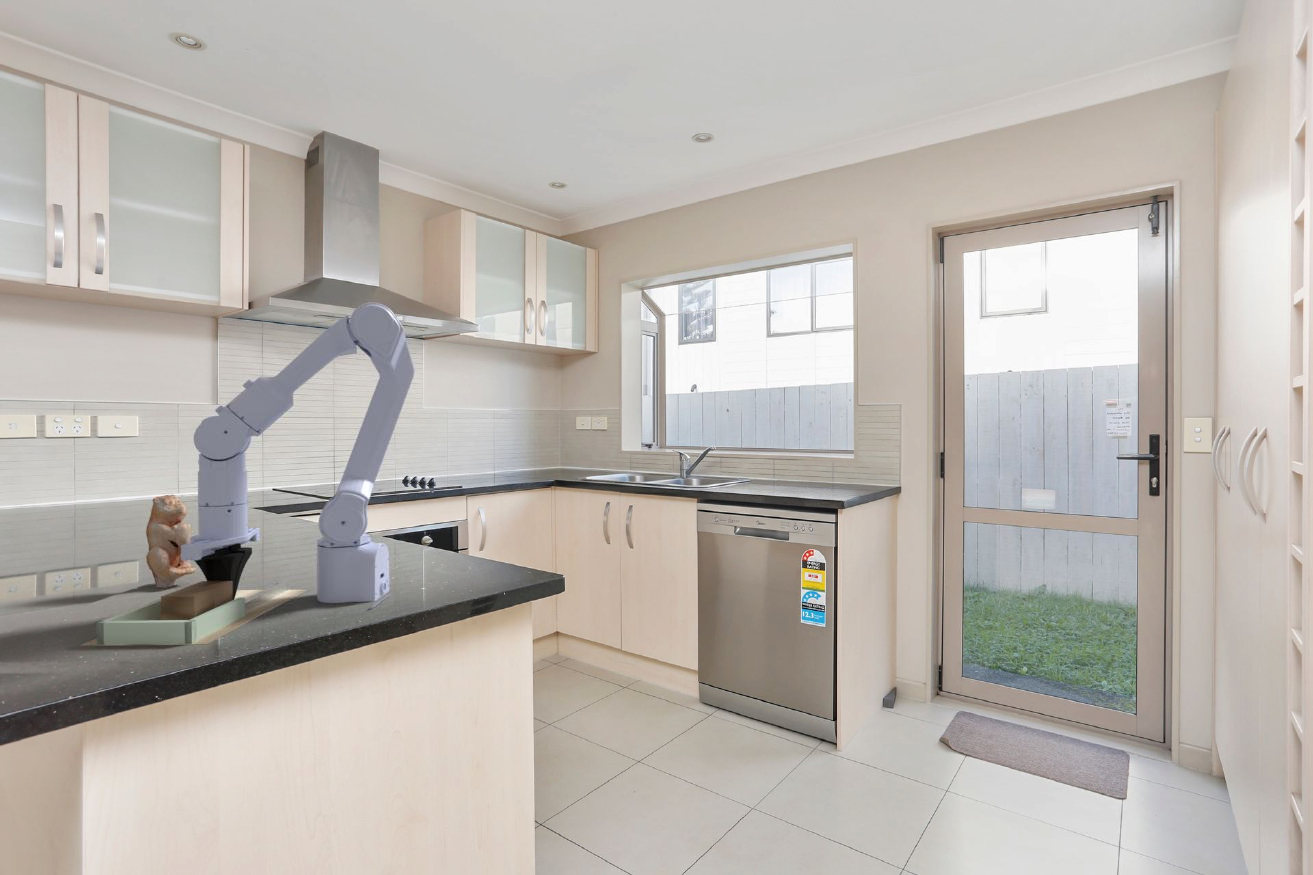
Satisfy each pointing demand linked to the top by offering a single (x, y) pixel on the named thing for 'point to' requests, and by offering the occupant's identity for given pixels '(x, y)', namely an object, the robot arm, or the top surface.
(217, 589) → the brown wooden block
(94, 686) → the top surface
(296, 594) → the slot board
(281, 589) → the slot rails
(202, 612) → the chip
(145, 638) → the tray
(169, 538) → the figurine
